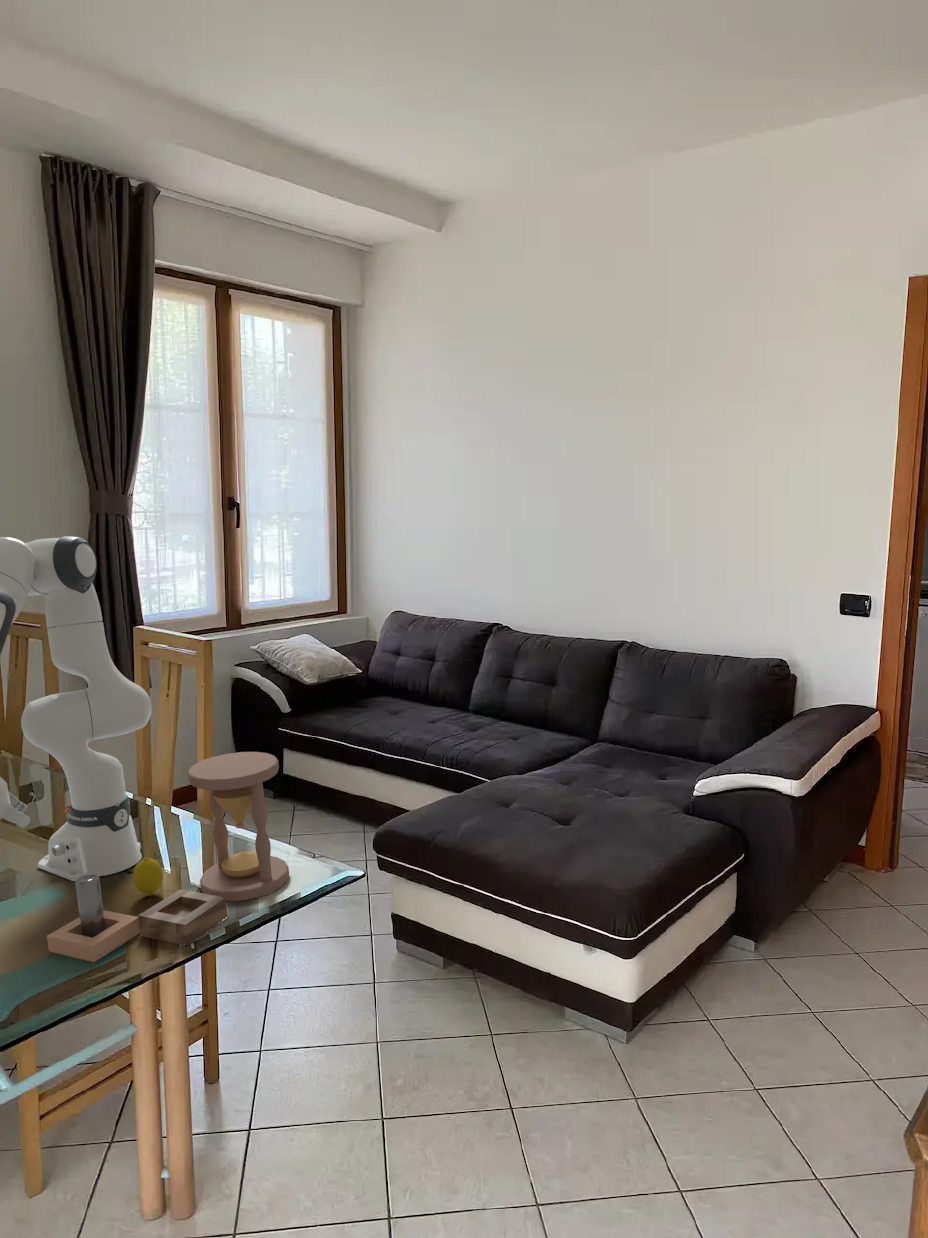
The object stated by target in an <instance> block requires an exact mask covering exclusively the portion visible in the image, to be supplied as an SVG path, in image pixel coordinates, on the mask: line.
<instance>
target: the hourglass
mask: <svg viewBox="0 0 928 1238" xmlns="http://www.w3.org/2000/svg"><path fill="white" fill-rule="evenodd" d="M279 764H280V762H279V760H278V758H277V757H276V756H275V755H274V754H271V753H268V752H260V751H240V752H239V751H238V752H232V753H231V752H230V753H224V754H220V755H219V754H218V755H216V756H215V755H214V756H211V757H208V758H205V759H202V760H200V761H198V762H196V763H195V764H193V765H192V766H191V767H190V768H189V770H188V771H187V776H188V777H187V778H188V782H189V783H190V785H191V786H192V787H193V788H194V787H195V788H197V789H199V790H200V789H201V790H205V791H209V799H208V801H209V807H210V810H211V812H212V814H213V817H214V823H213V829H212V835H213V840H214V845H215V850H216V855H217V856H216V858H217V863H216V864H214V865H211V866H210V867H209V868H208V869H207V870H206V871H204V872H203V874H202V875H201V877H200V879H199V885H200V886H199V887H200V889H201V893H203V894H209V895H214V896H220V897H225V898H226V903H227V902H231V903H232V902H235V903H238V902H243V901H244V902H245V901H249V900H250V899H251V900H254V898H256V899H259V898H262V897H265V896H268V895H270V894H272V893H274V892H276V891H278V890H279V888H280V889H281V888H283V886H284V885H285V884H286V883H287V882H288V879H289V876H290V869H289V866H288V864H287V863H286V862H287V861H285V860H284V859H281V858H279V857H278V856H274V855H273V856H272V855H271V851H272V847H271V845H272V844H271V841H270V838H269V835H268V833H267V831H266V830H267V829H266V825H267V823H268V822H267V821H268V808H267V805H266V801H265V793H264V785H263V784H264V783H263V782H267V781H268V780H270V779H272V778H273V777H275V776H276V775H277V774H278V772H279V769H280V765H279ZM250 810H251V817H252V820H253V823H254V825H255V828H256V830H257V831H256V836H255V843H254V846H255V847H254V849H255V851H241V852H238V853H236V854H232V855H230V856H229V848H228V846H229V845H228V841H229V832H228V831H229V830H228V828H227V825H226V823H225V820H224V818H223V816H224V812H226V814H227V815H229V817H230V818H231V819H232V820H233V822H235V828H237V829H243V828H245V822H244V820H245V819H246V818H247V816H248V814H249V812H250ZM277 889H278V890H277ZM275 890H276V891H275ZM273 891H274V892H273ZM271 892H272V893H271ZM269 893H270V894H269ZM267 894H268V895H267ZM258 897H259V898H258Z"/></svg>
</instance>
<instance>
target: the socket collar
mask: <svg viewBox="0 0 928 1238" xmlns="http://www.w3.org/2000/svg"><path fill="white" fill-rule="evenodd" d="M103 911H104V919H105V926H106V930H105V931H103V932H101V933H100V934H98V935H96V936H95V937H93V938H91V937H87V936H82V929H81V922H80V916H78V917H77V918H75V919H73V920H72V921H70V922H68V923H66V924H65V925H63V926H62V927H60V928H58V929H57V930H55V931H53V932H51V933H50V934H47V935H46V940H47V941H46V942H47V946H48V952H49V951H52V952H51V953H53V952H54V953H53V954H57V955H61V954H62V955H63V956H66V957H70V958H74V959H78V960H83V961H87V962H91V963H95V962H97V961H98V960H100V959H102V958H103V957H106V955H108V954H110V953H111V952H113V951H114V950H115V949H117V948H118V947H120V946H123V944H125V943H126V942H128V941H130V940H131V939H133V938H135V937H136V936H137V935H139V934H140V926H139V918H138V916H135V915H130V914H126V913H121V912H115V911H111V910H105V909H103Z"/></svg>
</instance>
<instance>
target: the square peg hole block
mask: <svg viewBox="0 0 928 1238" xmlns="http://www.w3.org/2000/svg"><path fill="white" fill-rule="evenodd" d="M228 915H229V914H228V905H227V902H226V898H225V897H220V896H214V895H209V894H203V892H197V891H192V890H191V891H190V890H186V889H179V890H177V891H175V892H173V893H172V894H170V895H169V896H167V897H166V898H164V899H163V900H161V901H159V902H158V903H156V904H154V905H152V906H151V907H150V908H147V909H146V910H144V911H143V912H141V913H139V915H137V917H138V918H139V926H140V933H139V934H140V937H145V938H150V939H154V940H157V941H163V942H168V943H172V944H177V945H181V944H185V945H184V946H186V945H188V946H190V945H191V944H193V943H194V942H195V941H197V940H198V939H200V938H201V937H202V936H204V935H205V934H206V932H207V931H208V932H210V931H211V930H212V929H214V928H215V927H217V926H218V925H219V924H220V923H219V922H221V921H222V920H223V919H225V918H226V917H228V918H229V916H228ZM225 920H226V919H225ZM222 922H223V921H222ZM222 922H221V923H222ZM218 923H219V924H218ZM217 924H218V925H217ZM216 925H217V926H216ZM214 926H215V927H214ZM213 927H214V928H213ZM211 928H212V929H211ZM210 929H211V930H210ZM209 930H210V931H209ZM208 932H207V933H208ZM189 944H190V945H189Z"/></svg>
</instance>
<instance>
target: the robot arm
mask: <svg viewBox="0 0 928 1238" xmlns="http://www.w3.org/2000/svg"><path fill="white" fill-rule="evenodd" d="M96 555H97V554H96V552H95V550H94V547H92V545H90V543H89V542H88V541H86V539H84V538H82V537H79V536H70V535H69V536H68V535H67V536H66V535H65V536H61V537H49V538H38V539H34V540H32V541H28V542H23V541H21V540H20V539H17V538H14V537H9V536H0V656H1V654H2V651H3V649H4V646H5V643H6V640H7V638H8V635H9V632H10V628H11V627H12V625H13V624H14V622H15V621H16V619H17V618H18V617H19V614H20V612H21V611H22V609H23V607H24V604H25V603H26V600H27V597H34V596H43V597H44V599H45V601H44V605H45V606H44V608H45V609H44V610H45V621H46V630H47V631H46V632H47V636H48V637H47V638H48V644H49V645H48V646H49V650H50V651H49V653H50V658H51V661H52V663H53V665H54V666H55V667H56V668H57V669H59V670H60V671H63V672H65V673H68V674H71V675H75V676H79V677H81V678H83V679H84V680H85V681H86V683H87V688H84V689H80V690H73V691H66V692H60V693H59V692H58V693H54V694H53V693H52V694H49V695H47V696H46V695H45V696H43V697H40V698H36V699H34V700H32V701H29V702H28V703H27V705H26V706H25V708H24V710H23V712H22V715H21V719H20V720H21V722H20V725H21V730H22V733H23V735H24V736H25V738H26V740H27V741H28V742H29V743H31V744H32V745H33V746H34V747H37V748H39V749H41V750H44V752H47V753H48V754H50V755H51V757H53V758H55V760H56V761H57V762H58V763H59V765H60V766H61V767H62V770H63V771H64V775H65V777H66V781H67V785H68V790H69V791H68V792H69V795H70V796H69V797H70V802H71V804H70V805H68V806H65V807H64V808H62V810H65V811H63V814H66V813H68V815H67V816H68V817H67V821H66V822H65V823H64V824H62V826H60V827H59V829H57V831H56V832H54V833H53V834H52V835H51V837H50V838H49V840H48V845H47V846H48V847H47V848H48V850H47V851H48V854H47V855H45V856H44V857H43V858H41V859H40V860H39V861H38V863H37V867H38V869H41V870H43V871H46V872H48V873H50V874H53V875H55V876H58V877H62V878H65V879H67V880H69V881H71V882H75V881H76V880H77V879H79V878H81V877H83V876H87V875H97V876H99V877H102V876H103V877H105V876H109V875H112V874H113V875H114V874H117V873H119V872H122V871H125V870H127V869H130V868H131V867H133V866H136V865H137V864H138V863H139V862H140V861H141V860H142V853H141V849H142V845H141V842H140V841H139V842H138V839H137V834H136V830H135V825H134V821H133V818H132V815H131V807H130V805H131V803H130V800H129V796H128V795H127V792H126V785H125V783H126V782H125V776H124V769H123V768H124V767H123V765H122V763H121V762H120V760H119V759H118V758H116V757H115V756H112V755H110V754H108V753H102V752H98V751H95V750H93V749H91V748H90V747H89V743H90V742H92V741H95V740H101V739H107V738H111V737H112V738H113V737H116V736H117V737H118V736H123V735H126V734H128V733H132V732H135V731H138V730H140V729H142V728H144V727H146V725H147V724H148V722H149V720H150V718H151V716H152V715H151V714H152V709H153V707H152V702H151V701H152V700H151V698H150V696H149V694H148V693H147V691H146V690H145V689H144V688H143V687H142V686H140V685H139V684H137V683H135V682H133V681H131V680H130V679H128V678H127V677H125V675H123V674H122V673H121V671H120V670H119V669H118V668H117V667H116V665H115V664H114V661H113V659H112V657H111V654H110V652H109V651H110V650H109V648H108V644H107V639H106V633H105V626H104V622H103V616H102V615H103V614H102V608H101V605H100V601H99V598H98V594H97V592H96V591H97V590H96V589H95V586H94V584H93V581H94V579H95V577H96V574H97V569H98V559H97V556H96ZM27 810H28V806H27V804H26V803H24V802H22V801H21V800H20V799H19V798H17V796H15V795H14V794H13V793H11V792H10V791H9V789H8V783H7V781H6V780H4V779H3V778H2V777H1V776H0V821H1V820H2V819H4V820H5V821H7V822H9V823H13V824H15V825H17V826H18V827H20V828H22V829H24V828H27V826H28V825H29V824H30V822H31V819H30V816H28V815H26V814H25V812H26V811H27Z"/></svg>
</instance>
